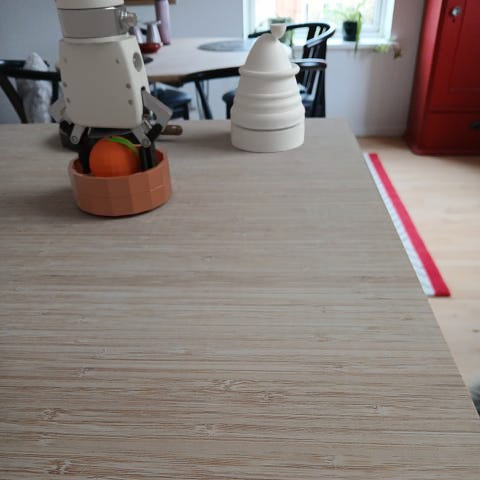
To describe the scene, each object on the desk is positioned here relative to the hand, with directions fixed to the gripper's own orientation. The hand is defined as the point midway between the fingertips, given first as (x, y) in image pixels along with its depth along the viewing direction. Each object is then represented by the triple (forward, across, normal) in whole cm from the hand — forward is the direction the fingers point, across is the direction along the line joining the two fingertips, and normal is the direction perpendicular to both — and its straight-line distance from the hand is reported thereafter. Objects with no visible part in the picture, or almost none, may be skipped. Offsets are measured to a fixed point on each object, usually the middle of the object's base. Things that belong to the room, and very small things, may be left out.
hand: (119, 171), depth 70 cm
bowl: (+4, 0, 0) cm, 4 cm away
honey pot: (+4, -15, -28) cm, 32 cm away
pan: (+4, +11, -26) cm, 29 cm away
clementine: (+3, 0, 0) cm, 3 cm away
